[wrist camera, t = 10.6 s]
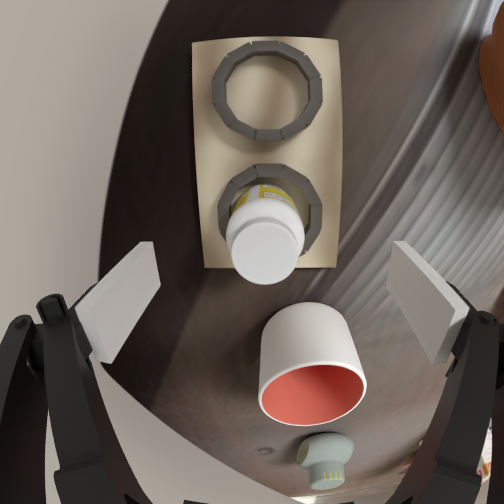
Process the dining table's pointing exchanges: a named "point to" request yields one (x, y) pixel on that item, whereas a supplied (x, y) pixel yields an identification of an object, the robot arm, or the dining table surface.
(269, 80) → the caddy
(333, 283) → the dining table surface
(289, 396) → the cup
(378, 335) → the dining table surface
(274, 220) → the supplement bottle
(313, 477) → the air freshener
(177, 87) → the dining table surface
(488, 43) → the potted plant
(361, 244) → the dining table surface
